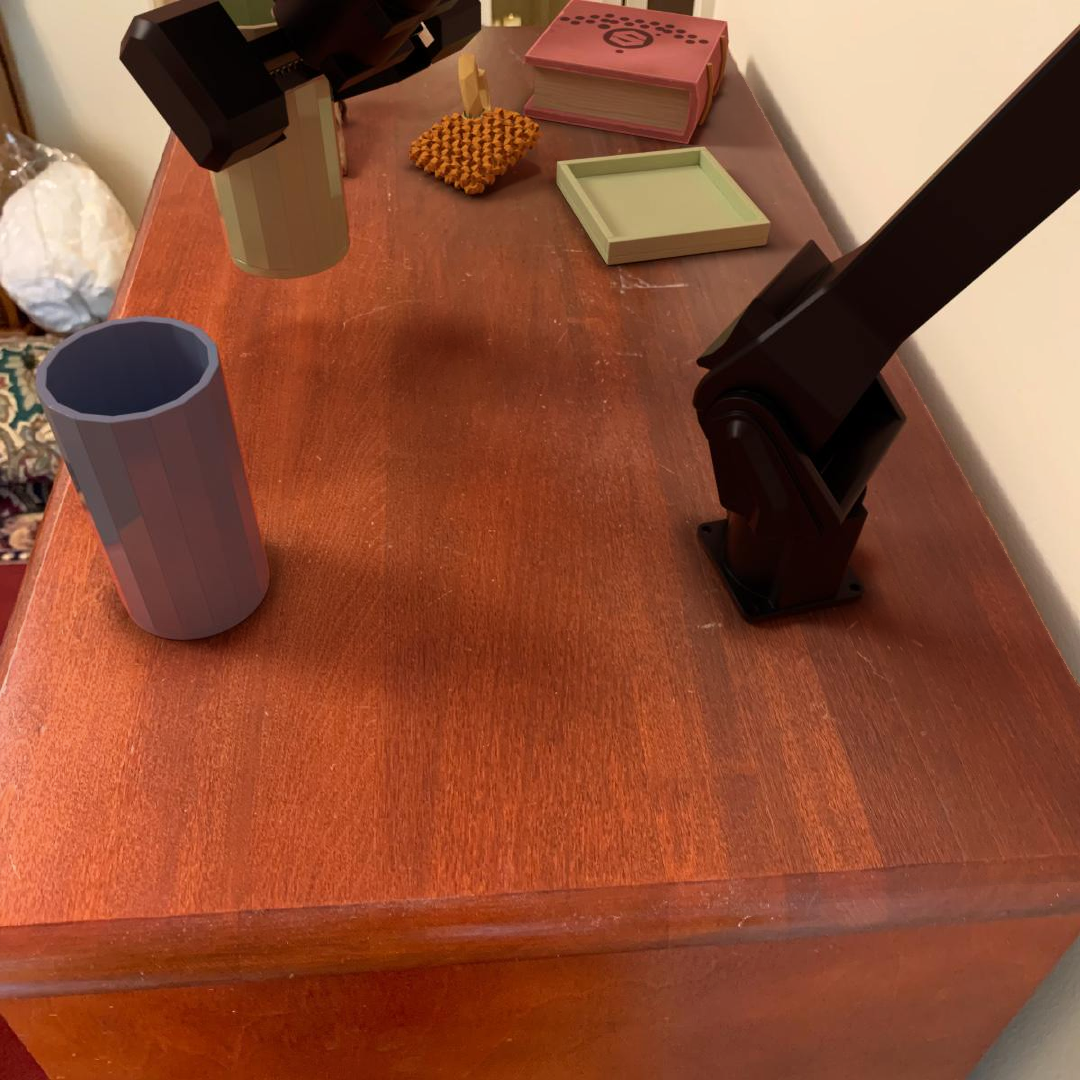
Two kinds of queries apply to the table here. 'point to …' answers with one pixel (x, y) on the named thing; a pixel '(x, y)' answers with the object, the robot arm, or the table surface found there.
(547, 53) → the book
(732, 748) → the table surface
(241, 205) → the green cup
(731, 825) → the table surface
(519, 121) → the ornament
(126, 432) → the blue cup
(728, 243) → the green tray
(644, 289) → the table surface
